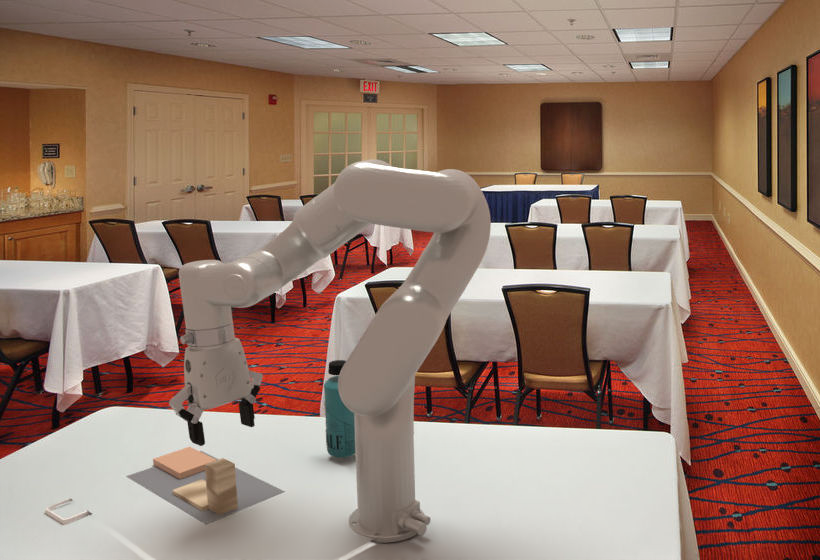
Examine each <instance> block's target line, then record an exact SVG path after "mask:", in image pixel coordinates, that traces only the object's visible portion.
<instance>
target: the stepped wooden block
mask: <svg viewBox="0 0 820 560" xmlns="http://www.w3.org/2000/svg"><path fill="white" fill-rule="evenodd" d="M218 459H219V458H218ZM235 468H236V463H234V462H232V461H230V460H229V459H225V458H224V457H222V458H220V459H219V460H216V461H213V462H211V463H208V464H205V475H206V481H204V480H202V479H201V480H198V481H196V482H193V483H190V484H188V485H185V486H182V487H179V488H177V489H174V490H172V493H173V494H174V495H175V496H177V497H179V498H181V499H182V500H184V501H186V502H187V503H189V504H191V505H193V506H194V507H196V508H198V509H199V510H201V511H205V510H207V509H210V510H212V511H213V512H215V513H217V514H219V515H221V514H224V513H226V512H228V511H231V510H233V509H236V508H238V502H237V488H236V474H235Z"/></svg>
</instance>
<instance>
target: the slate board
mask: <svg viewBox="0 0 820 560" xmlns="http://www.w3.org/2000/svg"><path fill="white" fill-rule="evenodd" d="M199 451H200V452H202V453H204V454H206V455H208V456H210V457H212V458H214V459H216V460H219V458H217V457H215V456H212V455H210V454H208V453H206V452H204V451H203V450H199ZM235 474H236V488H237V502H238V508H236V509H233V510H231V511H228V512H226V513H224V514H221V515H219V514H217V513H215V512H213V511H212V510H210V509H207V510H205V511H201V510H199V509H198V508H196V507H194V506H193V505H191V504H189V503H187V502H186V501H184V500H182V499H181V498H179V497H177V496H175V495H174V494H173V493H172V490H174V489H177V488H179V487H182V486H185V485H188V484H190V483H193V482H196V481H198V480H201V479H202V480H204V481H206V475H205V470H204V471H202V472H199V473H196V474H193V475H191V476H188V477H185V478H182V479H179V478H177V477H175V476H173V475H171V474H170V473H168V472H166V471H164V470H162V469H160V468H159V467H157V466H155V465H154V466H152V467H149V468H146V469H144V470H143V469H142V470H140V471H137V472H135V473H132V474H129V475H126V478H127V479H130V480H131V481H132V482H135V483H137V484H138V485H140V486H141V487H142V488H145V489H146V490H147V491H150V492H151V493H153V494H155V495H156V496H158V497H160V498H161V499H163V500H165V501H167V502H168V503H170V504H172V505H173V506H175V507H176V508H178V509H180V510H181V511H183V512H185V513H186V514H188V515H189V516H191V517H193V518H194V519H196V520H198V521H200V522H202V523H203V524H205V525H209V524H211V523H214V522H216V521H218V520H220V519H221V520H222V519H223V518H226V517H227V516H230V515H233V514H235V513H237V512H240V511H242V510H245V509H247V508H249V507H252V506H254V505H257V504H260V503H261V502H264V501H267V500H268V499H271V498H274V497H275V496H278V495H280V494H283V493H285V492H286V491H285V490H283V489H281V488H279V487H277V486H275V485H273V484H271V483H269V482H267V481H265V480H262V479H260V478H258V477H256V476H254V475H252V474H250V473H248V472H245V471H244V470H241V469H239V468H238V467H235Z"/></svg>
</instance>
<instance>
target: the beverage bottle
mask: <svg viewBox="0 0 820 560" xmlns="http://www.w3.org/2000/svg"><path fill="white" fill-rule="evenodd" d="M346 361H347V360H343V359H336V360H331V361H329V362H328V371H327V372H328V374H329V375H332V376H331V377H329V378H328V379H327V380H326V381H325V382H324V383H323V388H324V389H323V391H324V402H323V404H324V405H323V406H324V409H323V410H324V416H325V424H324V425H325V436H326V437H325V444H326V446H325V447H326V451H327V454H328V455H330V456H332V457H335V458H347V457H351V456H354V455H356V453H355V413H353V412H351V411H350V410H349V409H348V408H347V407H346V406H345V405H344V403H343V402H342V400H341V398H340V395H339V391H338V378H339V374H340V372H341V369H342V367H343V366H344V364H345V362H346Z"/></svg>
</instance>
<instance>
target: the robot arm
mask: <svg viewBox="0 0 820 560" xmlns="http://www.w3.org/2000/svg"><path fill="white" fill-rule="evenodd" d="M491 223H492V220H491V212H490V208H489V203H488V202H487V199H486V197H485V195H484V193H483V191H482V188H481V187H480V186H479V184H478V183H477V182H476V181H475V179H474V178H473V177H472V176H471V175H470V174H468V173H466V172H464V171H462V170H460V169H455V168H454V169H453V168H450V169H449V168H447V169H442V170H439V171H428V170H419V169H410V168H402V167H396V166H392V165H391V164H390V163H388V162H386V161H384V160H380V159H374V158H373V159H372V158H371V159H366V160H360V161H356V162H353V163H350V164H349V165H348V166H346V167H345V168H344V169H342V170H341V171H340V173H339V174H338V176H337V178H336V179H335V182H334V183H332V184H331V185H329V186H328V187H327V188H326V189H324V190H323V191H322V192H320V193H319V194H318V195H316V196H314V197H313V198H312V199H311V200H309V201H308V202H306V203H305V204H304V205H302V206H301V207H300V208H299V209H298V210H297V211H296V212H295V214H294V216H293V219H292V222H291V223H290V224H289V225H288V226H287V227H286V228H285V229H284V230H283V231H282V232H280V233H279V234H278V235H276V236H274V238H272V239H271V240H270V241H268V242H267V243H266V244H264V245H263V246H262V247H260V248H258V249H257V250H256V251H254V252H253V253H251V254H247V255H245V256H243V257H240V258H239V259H235V260H233V261H230V262H226V263H224V262H222V261H220V260H218V259H203V260H194V261H191V262H186V263H184V264H183V265H181V267H180V268H179V270H178V279H179V288H180V296H181V300H182V301H181V302H182V309H183V317H184V323H185V334H184V335H181V336H180V339H179V340H180V343H181V344H182V345H185V344H186V345H187V347H185V351H184V360H183V361H184V362H183V373H184V377H183V378H184V386H183V387H182V388H181V390H179V392H177V393H176V394H175V395H174V396H173V397H171V399H169V401H168V405H169V406H170V407H171V409H172V410H173V411H174V412H175V414H176V416H178V417H180V418H181V419H183V420H184V421H186V422H187V431H188V437H189V440H190V441H191V443H193V444H194V445H198V446H199V447H202V446H205V444H206V441H205V432H204V424H203V422H202V421H200V419H201V418H202V415H203V412H204V411H205V410H207V411H208V410H211V409H215V408H219V407H221V406H224V405H226V404H227V405H228V404H230V403H233V402H236V401H239V400H241V401H239V402H238V408H239V409H238V410H239V418H240V423H241V425H243V426H246V427H249V428H253V427H255V426H256V425H255V419H256V418H255V417H256V416H255V410H254V404H255V403H256V401H257V399H256V398H257V395H258V394H259V392H260V391H261V387H260V386H261V384H262V381H263V377H264V375H263V373H261V372H257V371H254V370H250V369H249V366H248V362H247V357H246V353H245V349H244V347H243V345H242V342H241V340H240V338H238V337H236V336H235V328H234V321H233V314H232V313H233V312H232V308H240V309H242V308H248V307H249V308H250V307H252V306H254V305H256V304H258V303H259V302H261V301H263V300H264V299H266V298H268V297H269V296H272V295H273V294H275V293H277V292H278V291H279V290H280V289H281V288H283V287H284V286H286V285H287V284H288V283H290V282H292V281H293V280H294V279H295V278H297V277H298V276H300V275H301V274H303V273H304V272H305V271H306V270H308V269H309V268H311V267H312V266H313V265H315V264H316V263H317V262H319V261H320V260H323V259H325V258H327V257H329V256H330V255H331V254H332V253H334V252H335V251H337V250H338V249H339V248H341V247H343V246H344V245H345V244H346V243H348V242H349V241H350V240H351V239H353V238H355V237H356V236H357V235H359V234H360V233H361V232H363V231H364V230H365V229H366V228H368V227H370V226H372V225H379V226H384V227H391V228H397V229H406V230H410V231H411V230H412V231H418V232H426V233H433V234H432V236H431V238H430V240H429V242H428V243H427V245H426V247H424V249H423V251H422V253H421V254H420V256H419V258H418V260H417V262H416V263H415V265H414V267H412V269H411V271H410V272H409V274H408V275H407V277H406V278H405V280H404V281H403V283H401V285H400V287H398V289H396V290H395V291H394V292H393V293H392V294H391V295H390V296H389V297H388V298H387V299H386V300H385V301H384V302H383V303H382V304H381V306H380V307H379V309H378V310H377V312H376V313H375V314H374V316H373V318H372V319H371V320H370V323H369V324H368V326H367V327H366V329H365V330H364V332H363V334H362V335H361V336H360V339H359V340H358V342H357V343H356V345H355V347H354V348H353V350H351V351H352V352H351V353H350V355H349V356H348V358H347V360H345V361H346V362H345V364H344V366H343V367H342V369H341V372H340V374H339V375H338V376H339V378H338V391H339V395H340V398H341V400H342V402H343V403H344V405H345V406H346V407H347V408H348V409H349V410H350V411H351V412H353V413H355V453H356V454H355V470H356V471H355V473H356V499H357V501H356V502H357V504H356V505H357V508H355V510H353V511H352V512H351V514H350V515H349V517H348V525H349V527H350V528H351V529H352V530H353V532H355V533H356V534H359V535H361V536H364V537H368V538H372V539H371V540H370V542H371V543H372V542H373V543H384V544H385V543H386V544H387V543H395V542H397V543H398V542H401V541H404V540H405V541H406V540H408V539H410V538H413V537H415V536H416V535H419V536H424V534H425V533H426V531H427V527H428V526H429V524H430V523H431V517H430V516H428V515H426V514H425V513H424V511H423V510H422V509H421V502H420V501H419V500H417V499H416V480H415V479H416V475H415V474H416V473H415V471H416V470H415V443H414V442H415V437H414V436H415V435H414V434H415V428H414V425H415V423H414V421H415V419H414V418H415V417H414V411H415V410H414V409H415V408H414V404H415V403H414V402H415V383H416V373H417V372H418V371H419V369H420V368H421V366H422V365H423V363H424V361H425V360H426V358H427V356H428V355H429V354H430V352H431V350H432V349H433V347H434V346H435V344H436V343H437V341H438V339H439V337H440V336H441V334H442V332H443V330H444V327H445V325H446V323H447V320H448V318H449V316H450V314H451V313H452V311H453V309H454V307H455V306H456V304H457V303H458V302H459V300H460V298H461V296H462V295H463V294H464V293H465V290H466V289H467V287H468V285H469V283H470V281H471V280H472V278H473V276H474V275H475V273H476V272H477V270H478V268H479V267H480V265H481V263H482V262H483V259H484V256H485V254H486V252H487V249H488V245H489V242H490V236H491V229H492V228H491V225H492V224H491ZM185 401H187V404H188V406H187V409H185V407H184V406H183V403H184V402H185Z"/></svg>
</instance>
